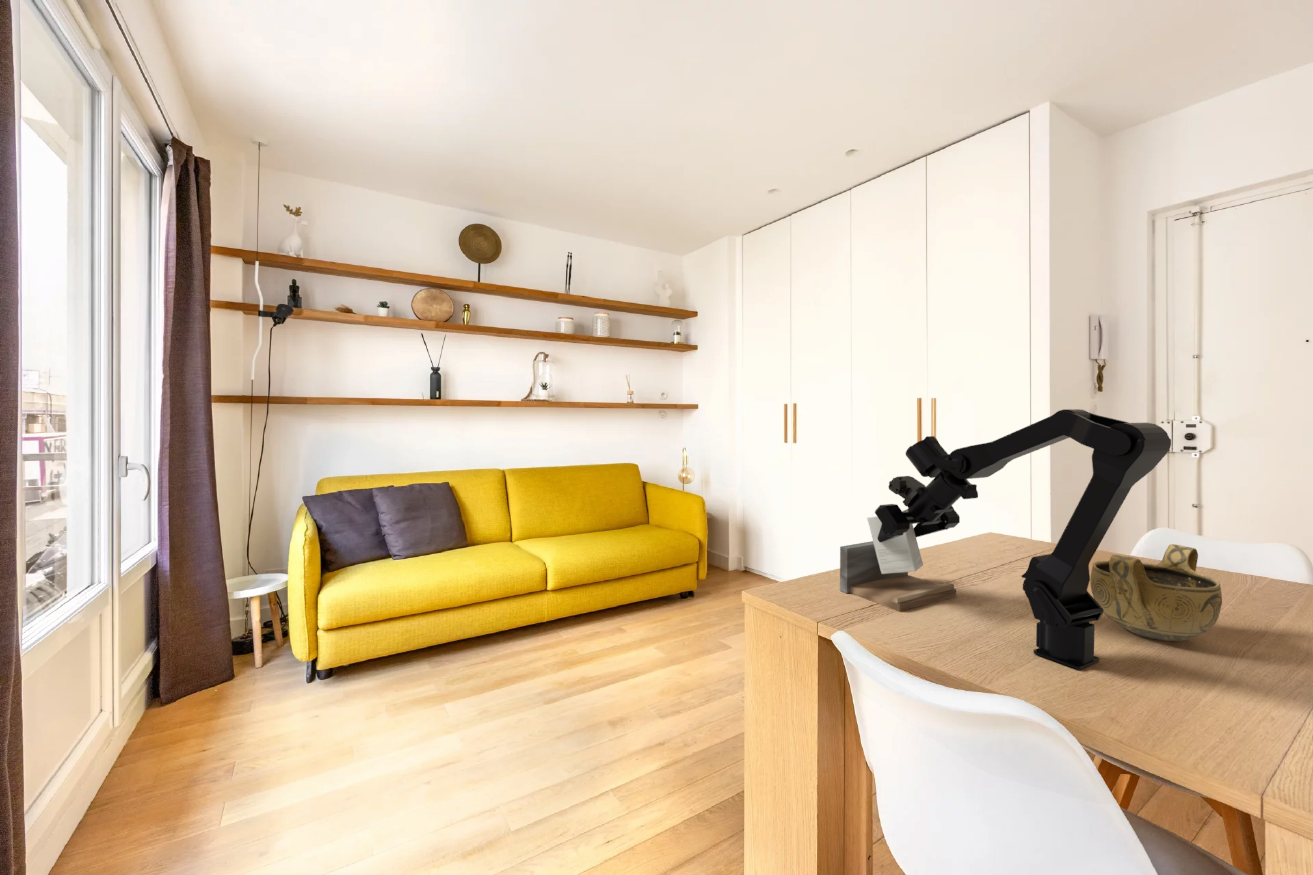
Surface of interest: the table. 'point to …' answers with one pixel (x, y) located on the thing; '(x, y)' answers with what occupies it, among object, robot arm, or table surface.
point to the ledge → (885, 581)
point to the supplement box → (896, 549)
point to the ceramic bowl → (1158, 595)
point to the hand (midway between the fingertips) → (895, 538)
